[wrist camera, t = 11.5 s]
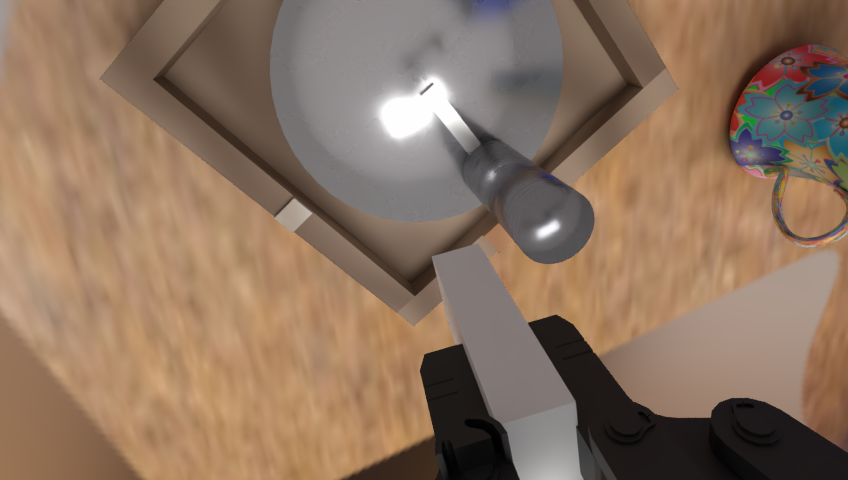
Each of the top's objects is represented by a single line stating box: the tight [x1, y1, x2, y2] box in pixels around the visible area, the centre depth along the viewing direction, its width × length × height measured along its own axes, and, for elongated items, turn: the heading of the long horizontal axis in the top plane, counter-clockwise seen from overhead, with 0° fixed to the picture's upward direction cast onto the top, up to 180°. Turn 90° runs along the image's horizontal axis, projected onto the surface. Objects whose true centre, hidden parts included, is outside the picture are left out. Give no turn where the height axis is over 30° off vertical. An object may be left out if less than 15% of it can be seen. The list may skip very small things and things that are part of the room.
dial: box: [270, 0, 594, 264], centre depth 19 cm, size 14×14×10 cm
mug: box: [729, 44, 848, 248], centre depth 26 cm, size 12×9×11 cm
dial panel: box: [99, 0, 678, 326], centre depth 24 cm, size 20×20×4 cm
